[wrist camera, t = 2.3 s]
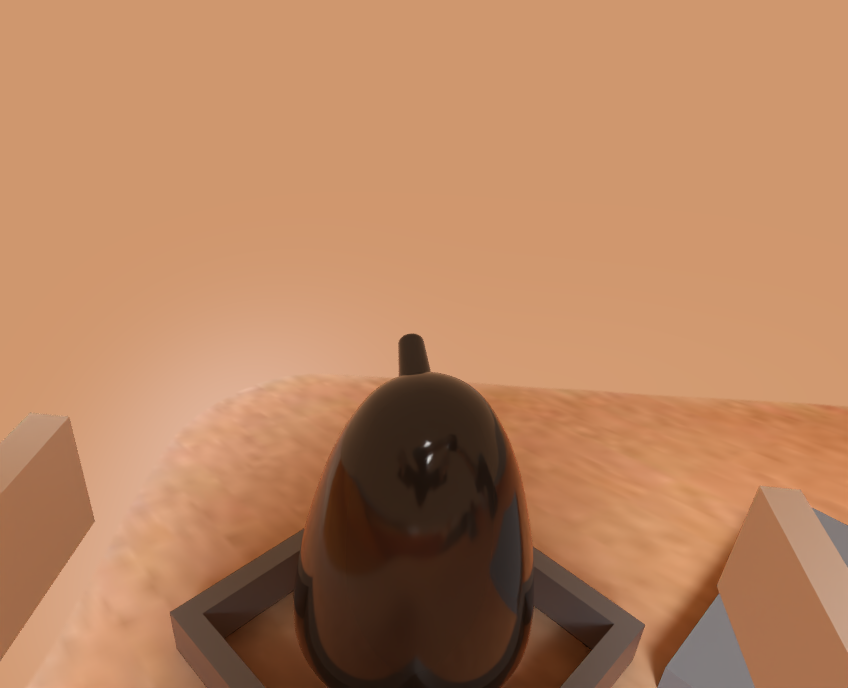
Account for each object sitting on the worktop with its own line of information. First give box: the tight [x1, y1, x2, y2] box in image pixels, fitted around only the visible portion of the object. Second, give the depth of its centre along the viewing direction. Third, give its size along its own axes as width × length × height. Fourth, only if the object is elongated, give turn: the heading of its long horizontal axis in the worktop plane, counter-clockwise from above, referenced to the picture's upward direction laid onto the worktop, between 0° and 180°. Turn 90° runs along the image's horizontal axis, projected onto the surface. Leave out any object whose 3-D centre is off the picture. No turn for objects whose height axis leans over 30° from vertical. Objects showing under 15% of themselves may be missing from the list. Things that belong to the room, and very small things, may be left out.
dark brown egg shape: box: [293, 334, 534, 688], centre depth 27 cm, size 10×10×15 cm
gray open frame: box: [170, 528, 645, 688], centre depth 31 cm, size 15×15×2 cm
